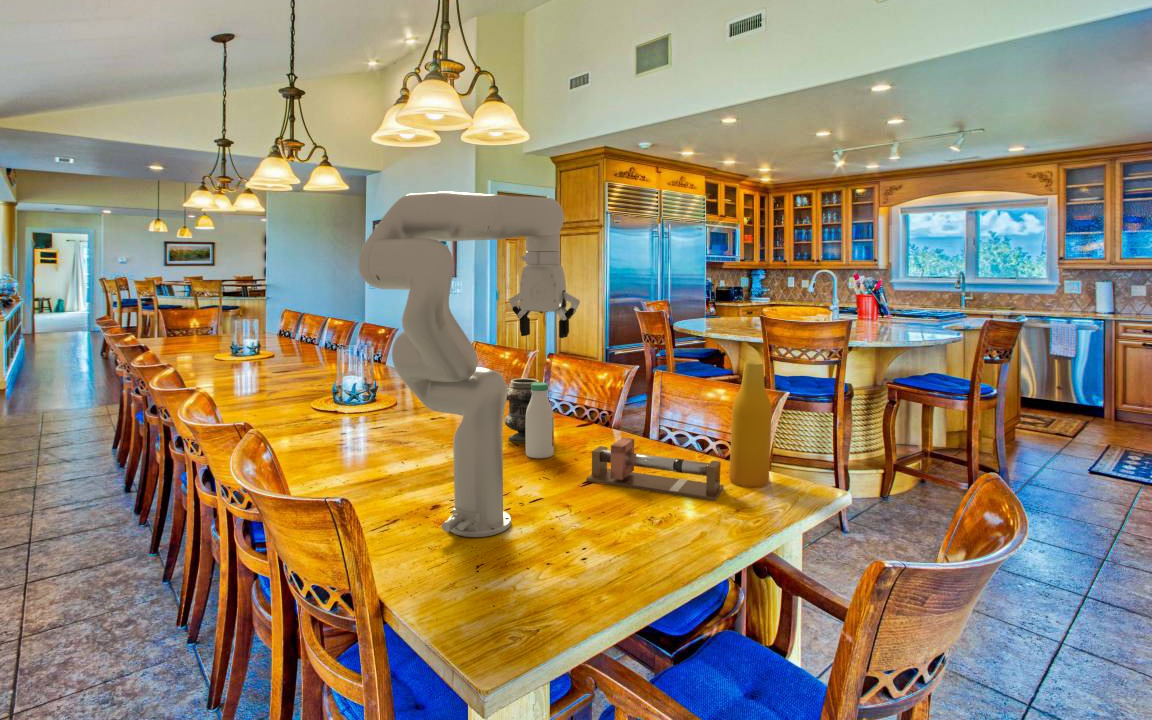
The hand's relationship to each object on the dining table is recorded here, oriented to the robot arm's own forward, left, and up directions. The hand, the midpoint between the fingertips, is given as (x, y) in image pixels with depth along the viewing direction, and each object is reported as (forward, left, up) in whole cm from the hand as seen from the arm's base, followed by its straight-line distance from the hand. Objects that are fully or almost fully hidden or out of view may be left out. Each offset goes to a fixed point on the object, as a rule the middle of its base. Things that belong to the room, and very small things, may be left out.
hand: (544, 336), depth 143 cm
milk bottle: (+22, +13, -36) cm, 44 cm away
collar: (+12, -15, -34) cm, 39 cm away
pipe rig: (+12, -23, -35) cm, 44 cm away
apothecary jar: (+35, +25, -36) cm, 56 cm away
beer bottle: (+24, -43, -36) cm, 61 cm away
